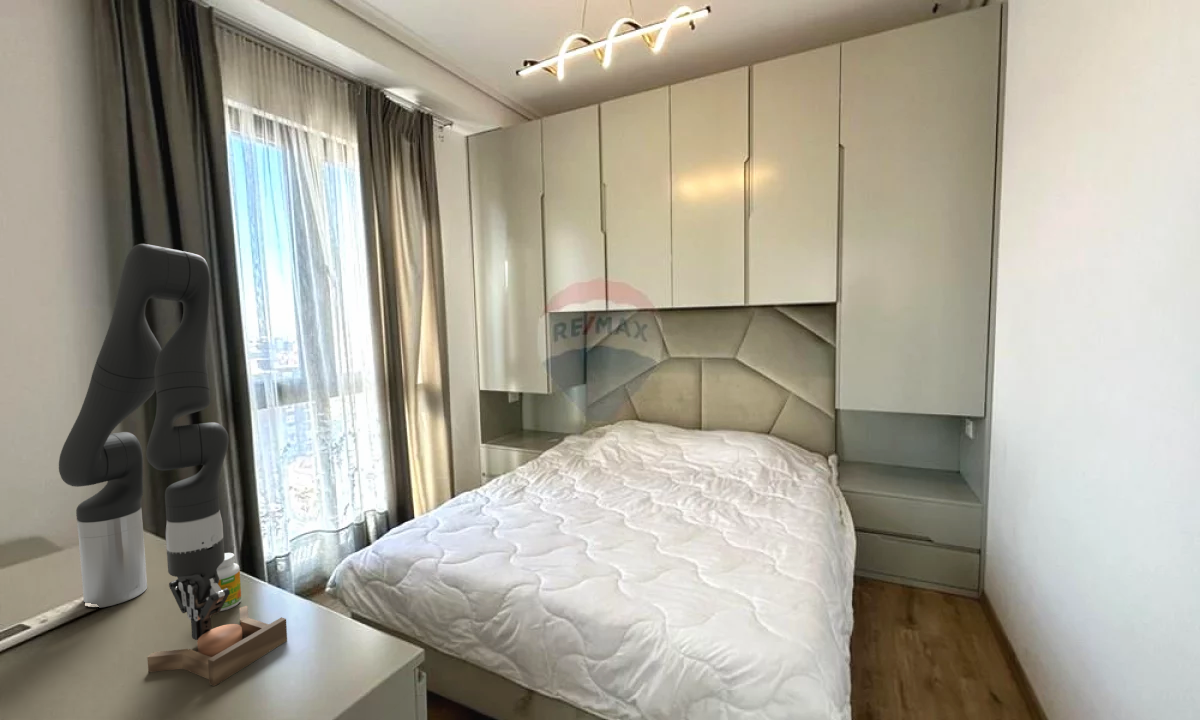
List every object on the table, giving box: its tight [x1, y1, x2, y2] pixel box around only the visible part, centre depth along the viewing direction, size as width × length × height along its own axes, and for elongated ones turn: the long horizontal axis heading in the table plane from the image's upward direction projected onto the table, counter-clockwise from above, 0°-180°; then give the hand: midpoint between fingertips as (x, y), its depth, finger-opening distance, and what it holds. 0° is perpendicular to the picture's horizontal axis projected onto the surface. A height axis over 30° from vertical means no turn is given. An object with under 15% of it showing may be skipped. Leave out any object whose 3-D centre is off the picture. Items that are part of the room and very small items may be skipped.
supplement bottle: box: [217, 552, 242, 612], centre depth 97 cm, size 5×5×10 cm
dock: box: [146, 605, 288, 687], centre depth 83 cm, size 14×15×4 cm
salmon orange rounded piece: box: [196, 623, 243, 657], centre depth 84 cm, size 6×6×2 cm
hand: (202, 637), depth 85 cm, fingers closed
